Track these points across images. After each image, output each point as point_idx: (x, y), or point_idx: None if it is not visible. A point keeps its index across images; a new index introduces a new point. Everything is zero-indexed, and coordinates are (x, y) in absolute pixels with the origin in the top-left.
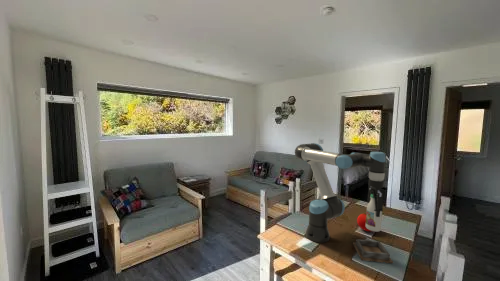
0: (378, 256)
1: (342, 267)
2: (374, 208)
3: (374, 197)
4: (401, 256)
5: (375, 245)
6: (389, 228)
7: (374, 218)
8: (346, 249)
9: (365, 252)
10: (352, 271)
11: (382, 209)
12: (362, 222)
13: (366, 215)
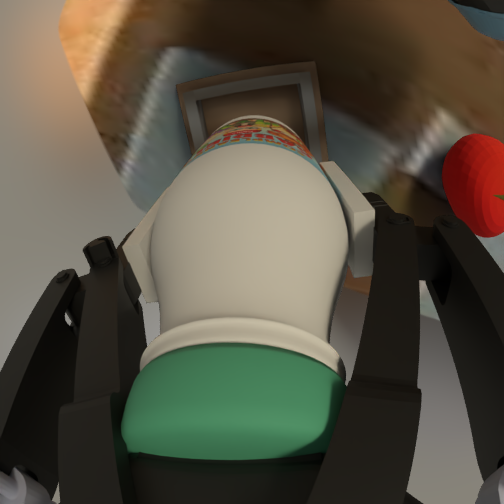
0: None
1: (101, 24)
2: (151, 254)
3: (61, 407)
4: None
5: None
6: None
7: (158, 199)
8: (246, 27)
9: (184, 102)
10: (92, 58)
11: (73, 333)
12: (467, 153)
13: (242, 129)
